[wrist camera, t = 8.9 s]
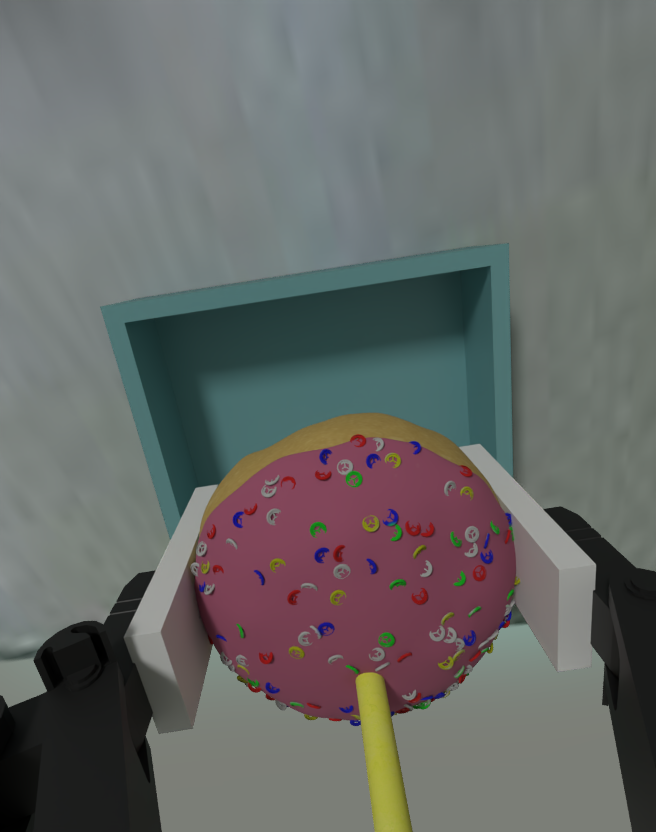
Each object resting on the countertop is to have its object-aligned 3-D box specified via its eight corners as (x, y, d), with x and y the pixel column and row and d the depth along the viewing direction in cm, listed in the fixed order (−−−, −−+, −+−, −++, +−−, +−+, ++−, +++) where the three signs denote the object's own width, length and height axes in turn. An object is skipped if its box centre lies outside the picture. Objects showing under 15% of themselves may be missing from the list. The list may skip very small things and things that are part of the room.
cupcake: (464, 573, 18) (740, 1111, 7) (248, 607, 18) (153, 1202, 7) (450, 358, 15) (882, 643, 4) (196, 398, 15) (-123, 802, 4)
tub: (202, 538, 29) (184, 587, 24) (136, 298, 24) (100, 306, 20) (482, 494, 29) (514, 535, 24) (471, 246, 24) (508, 243, 20)
